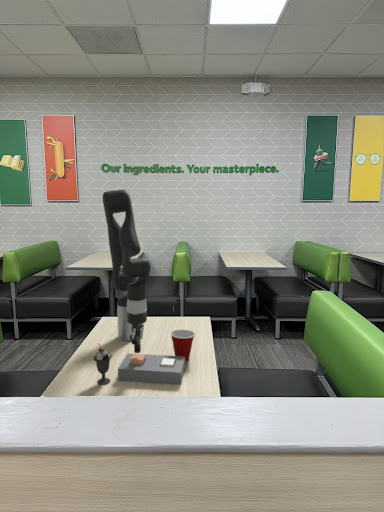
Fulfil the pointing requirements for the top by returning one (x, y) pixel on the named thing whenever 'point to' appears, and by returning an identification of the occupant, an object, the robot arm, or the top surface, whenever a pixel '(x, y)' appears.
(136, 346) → the robot arm
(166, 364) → the ivory key
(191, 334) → the plastic cup
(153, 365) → the key panel
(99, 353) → the sundae
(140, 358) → the terracotta key
